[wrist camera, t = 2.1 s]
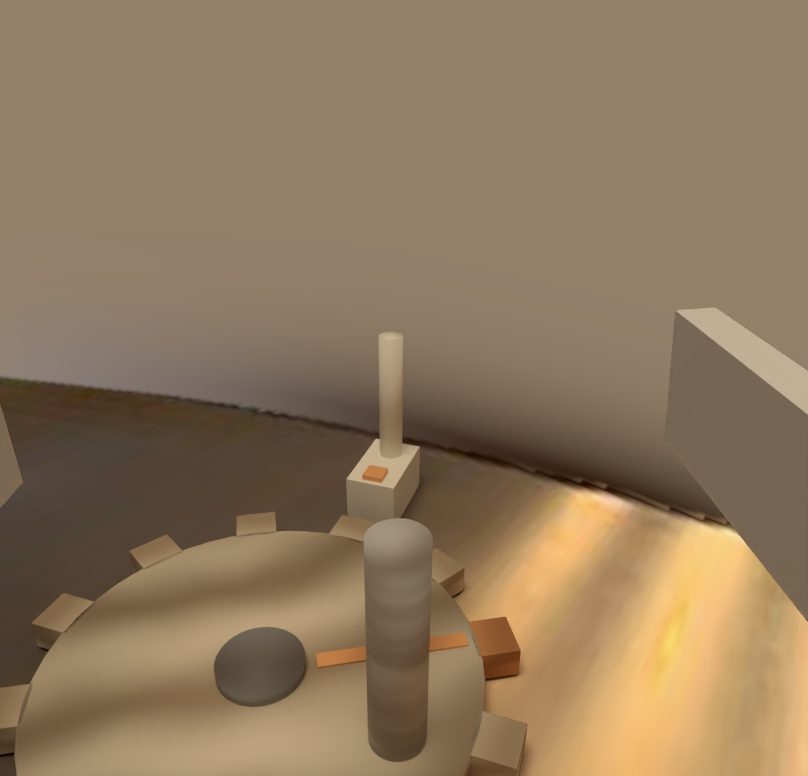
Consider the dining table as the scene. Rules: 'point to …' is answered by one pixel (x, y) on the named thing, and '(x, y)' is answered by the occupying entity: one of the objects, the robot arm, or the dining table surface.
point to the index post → (386, 448)
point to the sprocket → (270, 663)
